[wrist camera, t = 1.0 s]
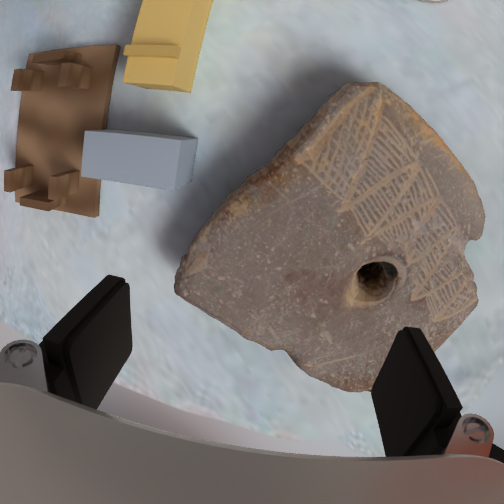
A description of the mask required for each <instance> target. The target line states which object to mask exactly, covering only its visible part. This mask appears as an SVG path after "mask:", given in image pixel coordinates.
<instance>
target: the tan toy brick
mask: <svg viewBox="0 0 504 504" xmlns="http://www.w3.org/2000/svg"><path fill="white" fill-rule="evenodd" d="M212 3H213V0H143V2H142V5H141V8H140V12H139V15H138V19H137V23H136V26H135V30H134V34H133V38H132V42H131V45H125V49H124V53H123V55H125V56H127V57H128V59H127V63H126V68H125V73H124V77H123V83H127V84H131V85H135V86H139V87H143V88H146V89H157V90H169V91H179V92H188V93H191V91H192V86H193V82H194V77H195V72H196V68H197V63H198V59H199V54H200V50H201V46H202V42H203V37H204V33H205V29H206V25H207V21H208V18H209V14H210V10H211V6H212Z"/></svg>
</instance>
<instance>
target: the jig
mask: <svg viewBox="0 0 504 504" xmlns="http://www.w3.org/2000/svg"><path fill="white" fill-rule="evenodd" d="M119 50H120V46H119V45H99V46H86V47H76V48H67V49H59V50H52V51H45V52H39V53H33V54H29V56H28V61H27V66H26V69H16V70H14V74H13V80H12V86H11V91H22V96H21V103H20V111H19V121H18V132H17V145H16V168H12V169H8V170H4V191H6V192H12V191H15V202H19V203H20V205H21V206H26V207H31V208H35V209H40V210H45V211H50V210H52V209H54V210H59V211H64V212H69V213H74V214H79V215H84V216H89V217H94V218H95V217H97V216H99V204H100V186H101V179H95V178H88V177H81V168H82V155H83V145H84V135H85V131H90V130H106V125H107V117H108V110H109V104H110V97H111V91H112V86H113V80H114V75H115V70H116V65H117V60H118V55H119Z"/></svg>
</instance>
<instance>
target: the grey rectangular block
mask: <svg viewBox="0 0 504 504" xmlns="http://www.w3.org/2000/svg"><path fill="white" fill-rule="evenodd" d="M197 144H198V139H196V138H189V137H181V136H174V135H166V134H157V133H148V132H138V131H128V130H116V129H108V130H90V131H85V135H84V145H83V155H82V168H81V177H88V178H95V179H102V180H109V181H115V182H122V183H128V184H134V185H141V186H147V187H153V188H159V189H165V190H170V191H175V190H177V189H179V188H180V187H182V186H184V185H186V184H188V183H189V182H191V181H192V176H193V170H194V163H195V156H196V150H197Z"/></svg>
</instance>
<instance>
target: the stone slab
mask: <svg viewBox="0 0 504 504" xmlns="http://www.w3.org/2000/svg"><path fill="white" fill-rule="evenodd" d="M484 222H485V213H484V209H483V205H482V201H481V199H480V197H479V195H478V193H477V189H476V186H475V184H474V182H473V180H472V179H471V177H470V176H469V174H468V173H467V172H466V170H465V169H464V167H463V166H462V165H461V163H460V162H459V161H458V159H457V158H456V157H455V156H454V154H453V153H452V152H451V150H450V149H449V148H448V147H447V145H446V144H445V143H444V141H443V140H442V139H441V138H440V137H439V135H438V134H437V133H436V132H435V130H434V129H433V128H432V127H430V126H429V125H428V124H427V122H426V121H425V120H424V119H423V118H422V117H421V116H420V115H419V114H417V113H416V112H415V111H414V110H413V108H412V107H411V106H410V105H409V104H407V103H406V102H404V101H403V100H402V99H401V98H400V97H399V96H397V95H396V94H395V93H393V92H392V91H391V90H390V89H388V88H387V87H386V86H384V85H382V84H380V83H378V82H372V83H359V82H353V83H346V84H344V85H343V86H342V87H341V88H340V89H339V90H338V91H337V92H335V93H333V94H331V95H330V96H329V100H328V101H326V102H325V103H324V104H323V105H322V106H321V108H320V109H318V110H317V112H316V114H315V116H314V117H313V118H312V119H311V120H310V122H308V123H307V124H305V125H304V126H303V127H302V128H301V129H300V131H299V133H298V134H297V135H296V136H294V137H293V138H292V139H290V140H288V141H287V142H286V143H285V144H284V146H283V148H282V149H280V150H279V151H278V152H277V153H276V155H275V157H274V158H273V159H272V160H271V161H270V162H269V163H268V164H267V165H266V166H265V167H264V168H262V169H260V170H257V171H256V172H255V173H254V174H253V175H251V176H249V177H247V179H246V180H245V181H244V182H243V183H242V185H241V187H240V188H239V189H237V190H235V191H232V192H231V194H229V195H228V196H227V198H226V200H225V201H224V202H223V203H222V204H221V205H220V206H219V207H218V208H217V210H216V211H215V212H214V213H212V216H211V218H210V219H209V220H207V221H206V222H205V224H204V225H203V227H202V229H201V230H200V231H199V233H198V234H197V235H196V236H195V237H194V239H193V241H192V243H191V244H190V245H189V249H188V253H187V254H185V255H184V256H183V257H182V258H181V263H180V267H179V269H178V270H177V272H176V275H175V284H174V290H175V293H176V294H177V295H178V296H180V297H182V298H183V299H184V300H186V301H187V302H189V303H191V304H192V305H194V306H196V307H198V308H199V309H201V310H202V311H204V312H205V313H206V314H208V315H209V316H211V317H213V318H215V319H217V320H219V321H221V322H222V323H224V324H225V325H227V326H228V327H230V328H231V329H233V330H235V331H236V332H238V333H239V334H240V335H241V336H242V337H244V338H245V339H247V340H251V341H254V342H256V343H259V344H261V345H262V346H264V347H266V348H267V349H269V350H271V351H272V350H285V351H286V352H287V353H288V355H289V356H290V357H291V359H292V360H293V361H294V363H295V364H296V365H297V366H298V367H299V368H300V369H302V370H303V371H304V372H305V373H307V374H308V375H309V376H311V377H314V378H316V379H319V380H320V381H323V382H326V383H328V384H329V385H331V386H332V387H335V388H339V389H341V390H343V391H347V392H363V391H369V392H371V390H372V386H373V384H374V382H375V380H376V378H377V376H378V374H379V372H380V370H381V368H382V366H383V363H384V361H385V359H386V357H387V355H388V353H389V350H390V348H391V346H392V344H393V341H394V339H395V337H396V335H397V333H398V331H399V330H402V329H403V328H404V327H415V328H420V329H421V330H422V332H423V333H424V335H425V337H426V339H427V340H428V342H429V344H430V346H431V348H432V349H433V351H434V352H435V351H436V350H437V349H438V348H439V347H440V346H441V345H442V344H443V343H444V342H445V341H446V340H447V338H448V337H449V336H450V335H451V334H452V333H453V332H454V331H455V330H456V329H457V328H458V327H459V326H460V325H461V324H462V322H463V321H464V320H465V318H466V317H467V316H468V315H469V314H470V313H471V312H472V311H473V310H474V308H475V307H476V306H477V303H478V298H477V294H476V292H477V286H476V284H475V282H474V274H473V272H472V270H471V269H470V267H469V265H468V263H467V261H466V259H465V256H464V250H465V245H466V244H467V242H468V241H469V240H478V239H479V238H480V237H481V236H482V233H483V228H484ZM372 262H376V263H375V264H374V265H373V266H371V267H369V268H364V269H360V268H361V267H362V266H363V265H365V264H368V263H372Z"/></svg>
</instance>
